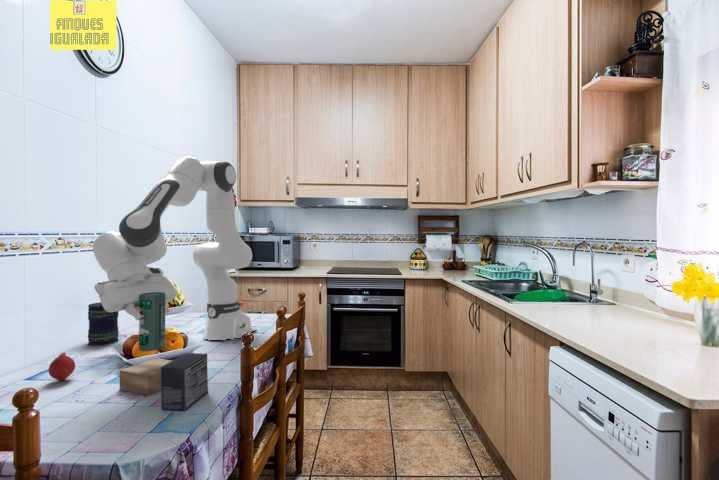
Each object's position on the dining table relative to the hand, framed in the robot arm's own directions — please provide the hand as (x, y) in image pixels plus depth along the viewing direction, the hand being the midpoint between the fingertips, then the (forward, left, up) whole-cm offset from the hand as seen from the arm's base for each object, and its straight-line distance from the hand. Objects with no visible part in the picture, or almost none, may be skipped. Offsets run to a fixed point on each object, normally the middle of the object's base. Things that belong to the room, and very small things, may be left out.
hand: (154, 315), depth 100 cm
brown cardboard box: (0, -1, -19) cm, 19 cm away
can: (0, -1, -9) cm, 9 cm away
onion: (+8, -27, -19) cm, 34 cm away
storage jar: (-22, -56, -19) cm, 63 cm away
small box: (+4, +16, -19) cm, 26 cm away
